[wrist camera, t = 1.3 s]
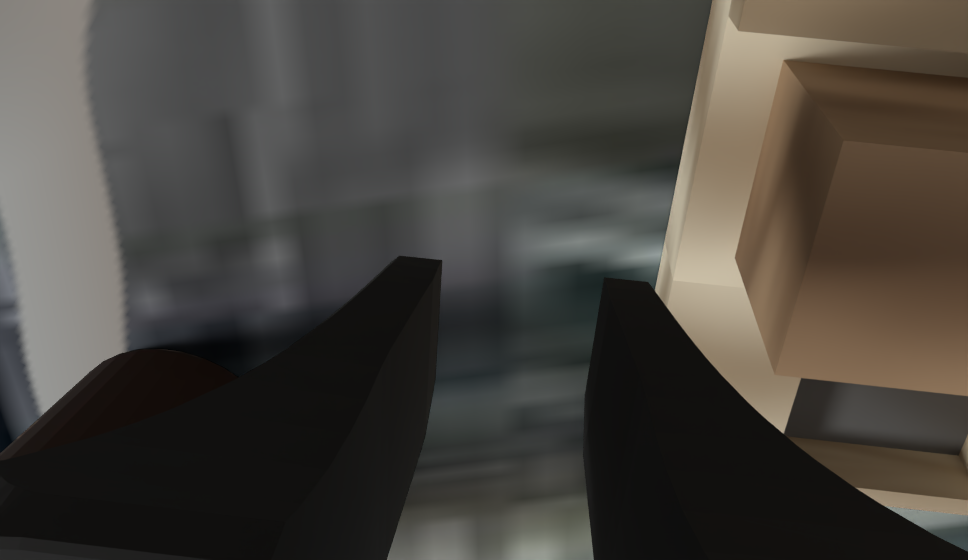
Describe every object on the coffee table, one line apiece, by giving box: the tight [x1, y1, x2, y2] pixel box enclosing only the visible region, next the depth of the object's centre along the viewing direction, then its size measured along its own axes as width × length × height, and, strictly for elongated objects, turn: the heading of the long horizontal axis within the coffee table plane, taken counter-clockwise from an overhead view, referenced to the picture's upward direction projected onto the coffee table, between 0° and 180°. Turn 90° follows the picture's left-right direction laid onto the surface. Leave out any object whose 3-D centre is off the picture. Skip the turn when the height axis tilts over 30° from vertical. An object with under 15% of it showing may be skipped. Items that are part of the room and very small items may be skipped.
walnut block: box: [735, 60, 968, 396], centre depth 17 cm, size 4×4×4 cm
